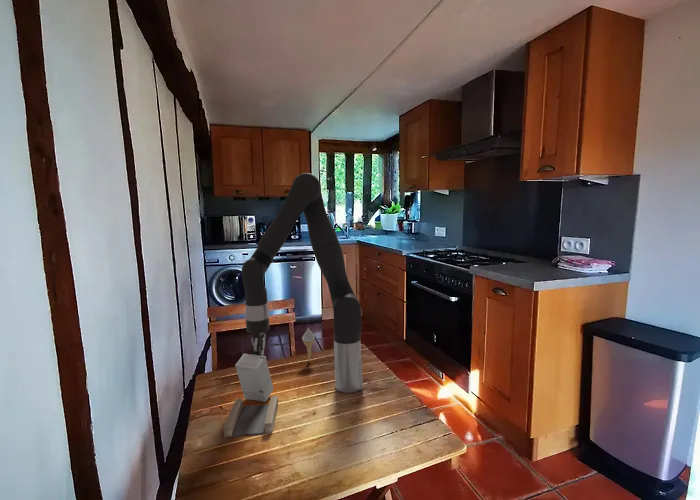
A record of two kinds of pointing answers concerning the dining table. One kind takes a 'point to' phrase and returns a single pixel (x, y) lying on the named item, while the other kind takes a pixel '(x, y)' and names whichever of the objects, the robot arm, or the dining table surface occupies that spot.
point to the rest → (251, 418)
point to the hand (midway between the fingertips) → (260, 366)
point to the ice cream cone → (308, 341)
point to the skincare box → (254, 377)
